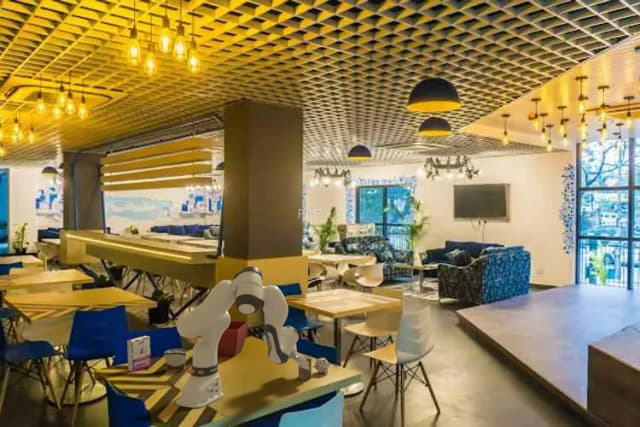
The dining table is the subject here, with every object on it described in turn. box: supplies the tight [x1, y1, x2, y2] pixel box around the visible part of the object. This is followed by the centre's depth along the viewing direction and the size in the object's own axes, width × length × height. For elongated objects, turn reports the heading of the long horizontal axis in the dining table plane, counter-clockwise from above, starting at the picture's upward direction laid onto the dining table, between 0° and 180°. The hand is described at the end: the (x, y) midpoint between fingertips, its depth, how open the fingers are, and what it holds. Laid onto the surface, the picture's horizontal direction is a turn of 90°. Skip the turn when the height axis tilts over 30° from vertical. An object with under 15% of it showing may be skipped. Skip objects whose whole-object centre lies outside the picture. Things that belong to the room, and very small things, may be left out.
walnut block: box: [297, 355, 312, 381], centre depth 255 cm, size 5×5×10 cm
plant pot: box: [217, 320, 249, 357], centre depth 298 cm, size 19×19×17 cm
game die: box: [312, 355, 332, 375], centre depth 262 cm, size 9×8×10 cm
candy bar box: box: [126, 335, 152, 373], centre depth 272 cm, size 11×5×16 cm, turn 143°
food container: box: [163, 348, 188, 372], centre depth 271 cm, size 12×6×10 cm, turn 84°
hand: (305, 366), depth 256 cm, fingers closed on walnut block, 5 cm apart
